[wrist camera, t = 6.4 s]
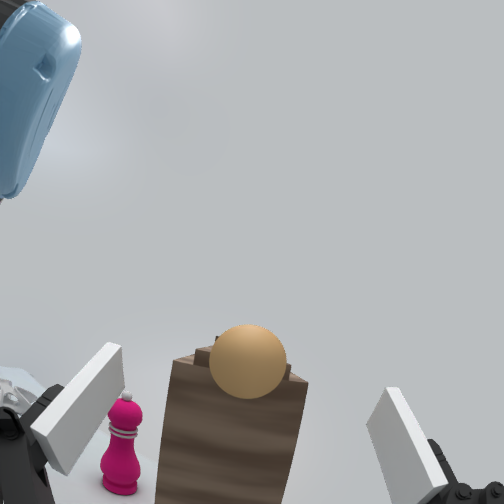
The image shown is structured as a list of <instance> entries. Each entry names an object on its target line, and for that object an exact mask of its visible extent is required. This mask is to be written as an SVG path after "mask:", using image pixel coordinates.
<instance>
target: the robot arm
mask: <svg viewBox="0 0 504 504" xmlns="http://www.w3.org/2000/svg"><path fill="white" fill-rule="evenodd" d="M81 47H82V43H81V36H80V33H79V31H78V30H77V28H76V27H75V26H74V25H73V24H71V23H70V22H68V21H67V20H65V19H64V18H63V17H61V16H60V15H58V14H57V13H55V12H53V11H52V10H51V9H49V8H48V7H47V6H46V5H45V4H43V3H41V2H40V1H36V0H0V204H1V202H2V201H3V199H4V198H7V199H12V198H14V197H16V196H17V195H18V194H19V193H20V192H21V190H22V189H23V187H24V186H25V184H26V182H27V180H28V178H29V176H30V173H31V171H32V169H33V167H34V165H35V162H36V160H37V158H38V156H39V153H40V150H41V148H42V145H43V143H44V140H45V137H46V136H47V134H48V132H49V130H50V128H51V126H52V123H53V121H54V119H55V117H56V114H57V112H58V110H59V107H60V105H61V103H62V101H63V98H64V96H65V94H66V91H67V89H68V87H69V84H70V82H71V80H72V77H73V75H74V72H75V69H76V67H77V64H78V61H79V58H80V54H81ZM124 388H125V385H124V375H123V363H122V349H121V346H120V345H117V344H113V343H110V342H107V343H106V344H105V345H104V346H103V348H102V349H101V350H100V351H99V352H98V353H97V354H96V355H95V356H94V357H93V358H92V359H91V360H90V361H89V362H88V363H87V364H86V365H85V366H84V368H83V369H82V370H81V371H80V372H79V373H78V374H77V375H76V376H75V377H74V378H73V379H72V380H71V381H70V383H69V384H68V385H67V386H66V387H63V386H61V385H59V384H56V385H54V386H52V387H50V388H48V389H47V390H46V391H45V392H44V393H43V394H42V395H41V397H39V398H38V399H37V400H36V402H34V403H33V405H32V406H31V407H30V408H29V409H28V410H27V411H26V412H25V413H24V414H23V415H22V416H21V417H20V418H19V417H18V415H17V413H16V412H15V411H14V410H13V409H11V408H9V407H5V406H2V407H0V504H3V500H4V504H55V502H54V498H53V495H52V491H51V488H50V484H49V480H48V476H47V472H46V468H45V464H46V463H47V461H48V462H49V464H50V465H51V467H52V468H53V469H54V470H56V471H58V472H60V473H62V474H63V475H65V476H68V474H69V473H70V471H71V470H72V468H73V466H74V465H75V463H76V462H77V460H78V458H79V457H80V455H81V454H82V452H83V451H84V449H85V447H86V446H87V444H88V443H89V441H90V440H91V438H92V437H93V435H94V433H95V432H96V430H97V429H98V427H99V426H100V424H101V423H102V421H103V420H104V418H105V417H106V415H107V414H108V412H109V411H110V409H111V408H112V406H113V404H114V403H115V401H116V400H117V398H118V397H119V395H120V394H121V392H122V391H123V390H124ZM366 425H367V428H368V431H369V434H370V437H371V440H372V443H373V446H374V448H375V451H376V454H377V457H378V460H379V463H380V466H381V469H382V473H383V475H384V479H385V482H386V485H387V488H388V491H389V495H390V498H391V501H392V504H504V486H503V484H501V483H500V482H496V481H495V482H491V483H490V484H488V485H487V486H486V487H485V488H484V489H471V487H470V486H469V485H467V484H465V483H458V481H457V479H456V477H455V475H454V473H453V471H452V469H451V467H450V465H449V464H448V462H447V461H446V458H445V456H444V455H443V452H442V450H441V448H440V446H439V445H438V444H437V443H436V442H435V441H434V440H433V439H428V440H427V439H426V437H425V436H424V434H423V432H422V430H421V428H420V426H419V424H418V422H417V420H416V419H415V417H414V415H413V413H412V411H411V410H410V408H409V406H408V404H407V402H406V400H405V399H404V397H403V395H402V394H401V392H400V390H399V388H398V387H386V388H385V390H384V392H383V394H382V396H381V398H380V400H379V402H378V404H377V406H376V408H375V409H374V411H373V413H372V415H371V417H370V419H369V420H368V422H367V424H366Z"/></svg>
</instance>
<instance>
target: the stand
mask: <svg viewBox="0 0 504 504" xmlns="http://www.w3.org/2000/svg"><path fill="white" fill-rule="evenodd" d="M218 338H219V337H218V336H216V339H215V341H216V340H217V339H218ZM212 347H213V346H209V347H204V348H198V349H196V351H195V354H193V355H190V356H186V357H183V358H179V359H176V360H173V365H172V370H171V376H170V382H169V388H168V395H167V401H166V408H165V415H164V422H163V430H162V437H161V446H160V455H159V463H158V472H157V482H156V493H155V504H281V502H282V498H283V495H284V491H285V487H286V483H287V480H288V476H289V472H290V468H291V464H292V460H293V455H294V451H295V447H296V443H297V438H298V434H299V429H300V424H301V420H302V415H303V410H304V405H305V399H306V394H307V389H308V382H306V381H305V380H303V379H301V378H300V377H298V376H296V375H295V374H293V373H291V372H290V370H291V365H290V364H288V363H286V370H285V373H284V376H283V378H282V380H281V382H280V383H279V384H278V386H277V387H276V388H275V389H273V390H272V391H271V392H269V393H268V394H266V395H264V396H262V397H258V398H253V399H243V398H238V397H235V396H232V395H230V394H228V393H226V392H225V391H223V390H222V389H221V388H220V387H219V386H218V385H217V383H216V382H215V380H214V379H213V376H212V374H211V371H210V366H209V358H210V353H211V349H212Z"/></svg>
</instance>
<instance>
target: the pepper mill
mask: <svg viewBox="0 0 504 504" xmlns="http://www.w3.org/2000/svg"><path fill="white" fill-rule="evenodd" d="M131 399H132V394H131V393H130V392H128V391H125V392H123V393H122V398H119V399H117V400H116V401H115V403H114V404H113V406H112V408H111V409H110V411H109V412H108V414H107V415H108V417H109V419H110V421H111V422H110V423H109V431H110V432H111V439H110V444H109V447H108V449H107V450H106V452H105V453H104V455H103V456H102V459H101V463H100V468H101V470H102V472H103V473H104V475H103V485H104V486H105V488H106V489H108V490H109V491H111V492H113V493H116V494H120V495H130V494H133V493H135V492H136V490H137V481H136V480H137V479H138V478H139V477H140V465H139V462H138V459H137V457H136V455H135V451H134V438H135V437H137V435H138V434H137V432H138V429H137V426H138V425H140V423H141V422H142V411H141V408H140V407H139V406H138V405H137V404H136V403H135V402H133V401H131Z"/></svg>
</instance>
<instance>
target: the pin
mask: <svg viewBox="0 0 504 504" xmlns="http://www.w3.org/2000/svg"><path fill="white" fill-rule="evenodd" d="M209 366H210V371H211V374H212V376H213V379H214V380H215V382H216V383H217V385H218V386H219V387H220V388H221V389H222V390H223V391H225V392H226V393H228V394H230V395H232V396H235V397H238V398H243V399H253V398H258V397H262V396H264V395H266V394H268V393H269V392H271V391H272V390H273V389H275V388H276V387H277V386H278V384H279V383H280V382H281V380H282V378H283V376H284V373H285V370H286V353H285V350H284V348H283V345H282V343H281V342H280V340H279V339H278V338H277V337H276V336H275V335H274V334H273V333H272V332H270V331H269V330H267V329H265V328H263V327H260V326H256V325H239V326H236V327H233V328H231V329H229V330H227V331H225V332H224V333H223V334H222V335H221V336H220V337H219V338H218V339H217V340H216V341H215V343H214V345H213V347H212V349H211V353H210V358H209Z"/></svg>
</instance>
